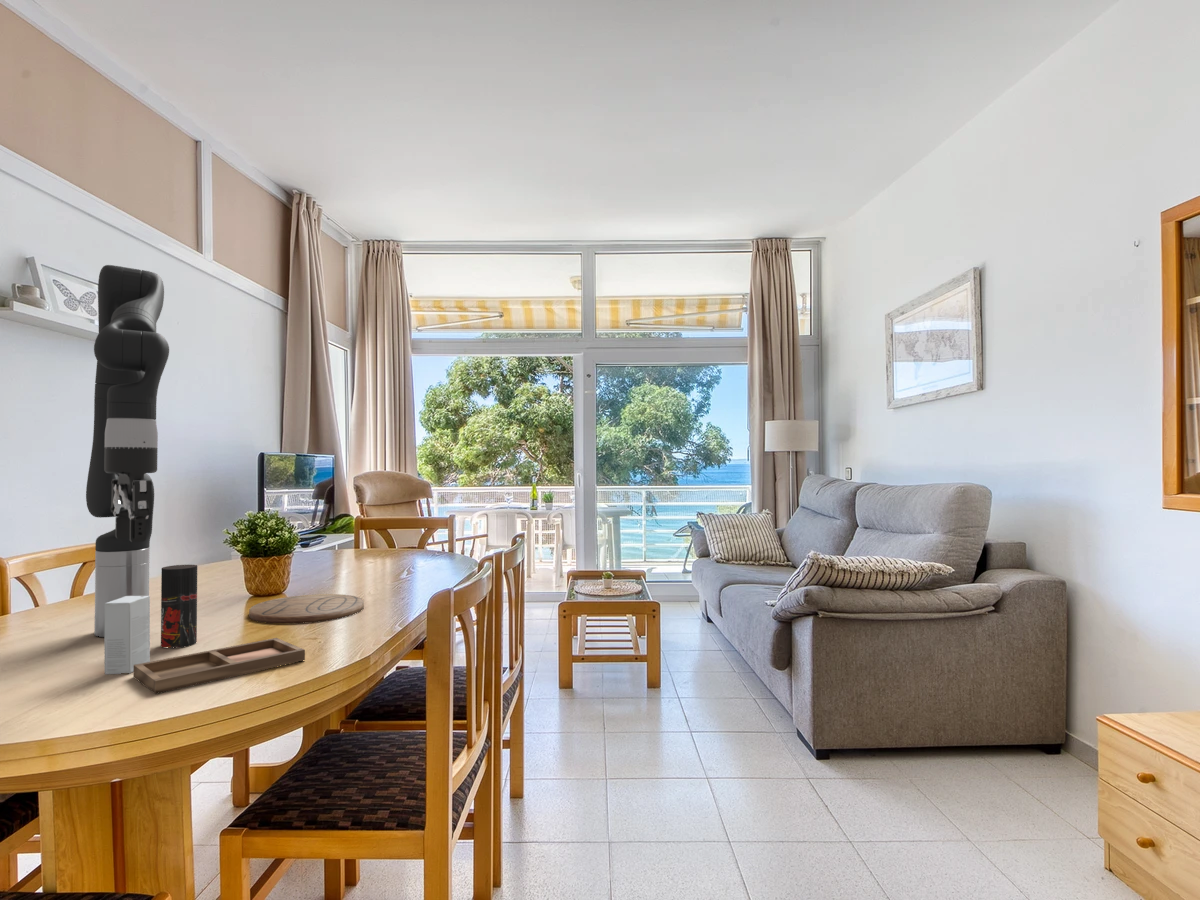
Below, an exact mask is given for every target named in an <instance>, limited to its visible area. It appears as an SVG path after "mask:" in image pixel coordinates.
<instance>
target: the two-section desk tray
mask: <svg viewBox="0 0 1200 900" xmlns="http://www.w3.org/2000/svg"><path fill="white" fill-rule="evenodd" d="M303 660H306V650H305V649H304V648H302V647H299V646H297V645H294V644H292V643H290V642H288V641H285V640H283V639H280V638H278V637H274V638H268V639H263V640H259V641H252V642H248V643H242V644H235V645H233V646H225V647H221V648H216V649H210V650H205V651H200V652H194V653H190V654H183V655H179V656H173V657H169V658H163V659H158V660H152V661H150V662H146V663H141V664H136V665H134V671H133V678H134V677H135V678H136V679H135V678H134V679H135V680H137V681H138V680H139V681H140V682H139V681H138V682H139V683H141V685H143V684H144V685H145V688H146V689H148V690H150V691H151V692H152V693H153V694H155V695H158V694H162V693H166V691H167V692H170V691H171V692H172V691H175V690H176V691H177V690H179V689H180V690H181V689H184V688H189V687H194V686H198V685H203V684H206V683H207V682H208V683H211V682H210V681H212V682H215V680H217V681H220V679H221V680H224V679H225V678H226V679H230V678H234V676H235V677H239V676H244V675H247V673H248V674H251V673H252V672H253V673H257V672H261V670H262V671H266V670H269V669H268V668H271V669H274V668H273V667H275V668H278V667H277V666H280V665H284V666H286V665H285V664H289V663H293V664H295V663H294V662H298V661H302V662H304V661H303ZM298 663H299V662H298ZM289 665H290V664H289ZM280 667H281V666H280ZM265 669H266V670H265ZM256 671H257V672H256ZM243 674H244V675H243ZM238 675H239V676H238ZM229 677H230V678H229ZM226 679H225V680H226ZM193 685H194V686H193ZM161 692H162V693H161ZM157 693H158V694H157Z"/></svg>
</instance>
